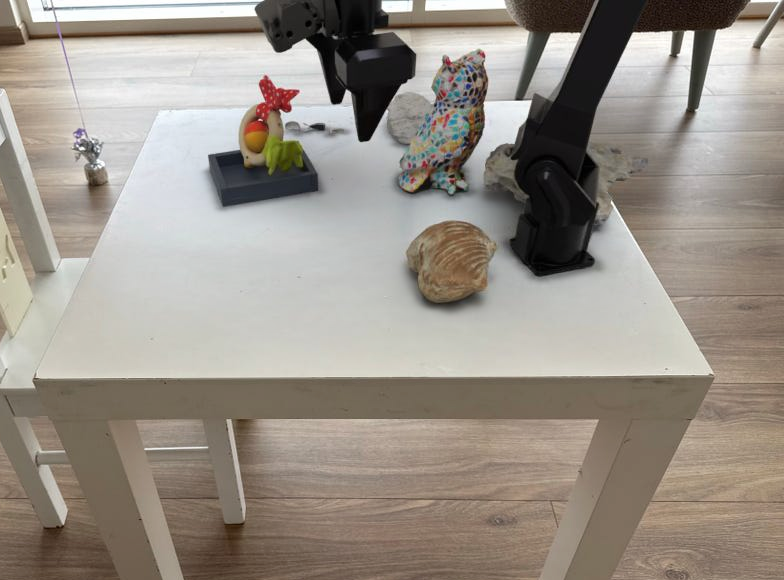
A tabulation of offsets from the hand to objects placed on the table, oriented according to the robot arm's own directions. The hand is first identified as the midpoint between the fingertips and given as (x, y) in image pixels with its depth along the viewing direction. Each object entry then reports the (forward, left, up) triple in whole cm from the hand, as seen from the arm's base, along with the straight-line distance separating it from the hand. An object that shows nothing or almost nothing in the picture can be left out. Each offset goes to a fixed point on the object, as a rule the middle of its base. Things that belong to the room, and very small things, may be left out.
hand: (349, 121), depth 74 cm
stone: (-16, -20, -12) cm, 28 cm away
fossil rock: (-26, -4, -9) cm, 28 cm away
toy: (-2, -23, -12) cm, 26 cm away
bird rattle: (+7, -12, -11) cm, 18 cm away
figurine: (-13, -6, -12) cm, 19 cm away
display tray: (+7, -13, -12) cm, 19 cm away
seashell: (-6, +14, -12) cm, 20 cm away
